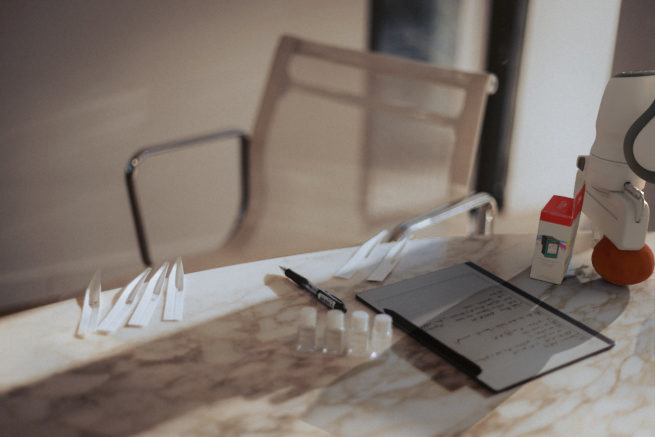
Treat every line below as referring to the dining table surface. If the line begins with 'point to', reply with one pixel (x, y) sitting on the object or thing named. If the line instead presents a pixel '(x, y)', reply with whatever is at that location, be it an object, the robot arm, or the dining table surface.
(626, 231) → the robot arm
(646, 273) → the fruit
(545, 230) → the ink box
